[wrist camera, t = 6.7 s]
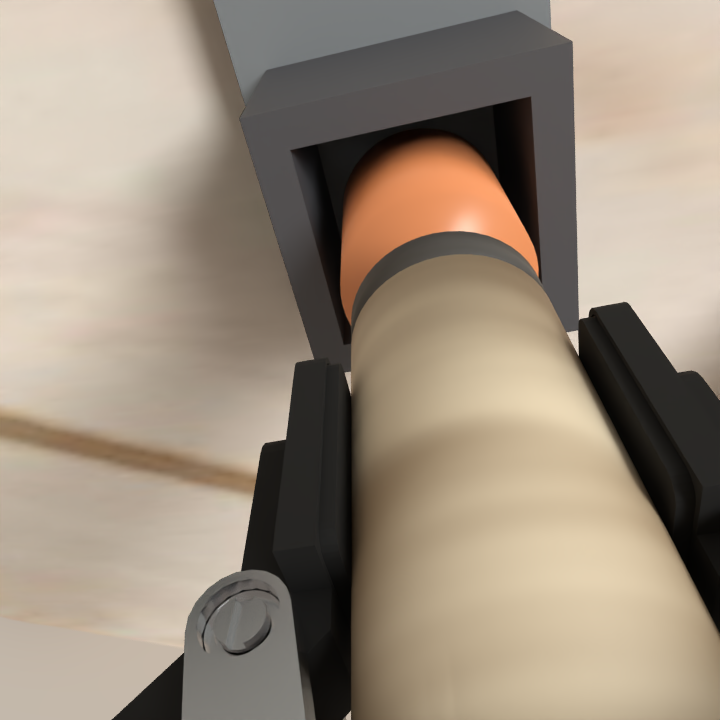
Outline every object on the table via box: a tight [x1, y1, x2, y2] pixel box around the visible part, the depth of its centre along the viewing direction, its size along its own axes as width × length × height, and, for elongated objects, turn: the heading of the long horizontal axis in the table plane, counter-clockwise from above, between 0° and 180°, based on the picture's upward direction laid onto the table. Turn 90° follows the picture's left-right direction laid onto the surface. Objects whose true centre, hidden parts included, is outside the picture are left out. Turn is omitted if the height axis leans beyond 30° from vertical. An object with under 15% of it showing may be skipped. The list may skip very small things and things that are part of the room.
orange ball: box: [340, 128, 539, 325], centre depth 17 cm, size 5×5×5 cm
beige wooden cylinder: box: [351, 231, 720, 720], centre depth 9 cm, size 4×4×10 cm
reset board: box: [213, 0, 579, 372], centre depth 18 cm, size 21×10×8 cm, turn 12°
